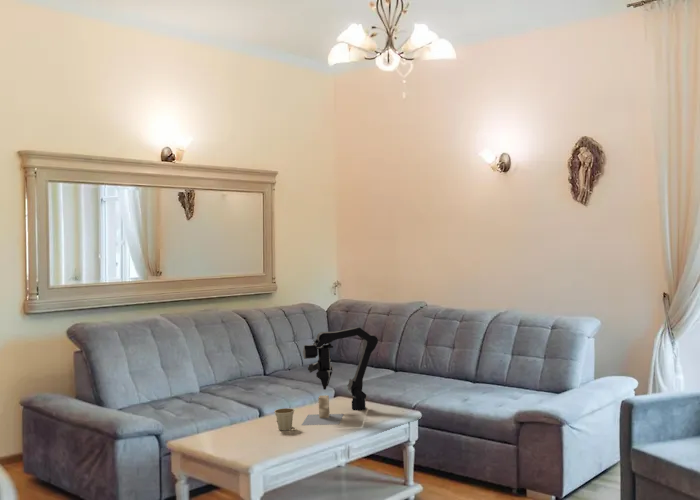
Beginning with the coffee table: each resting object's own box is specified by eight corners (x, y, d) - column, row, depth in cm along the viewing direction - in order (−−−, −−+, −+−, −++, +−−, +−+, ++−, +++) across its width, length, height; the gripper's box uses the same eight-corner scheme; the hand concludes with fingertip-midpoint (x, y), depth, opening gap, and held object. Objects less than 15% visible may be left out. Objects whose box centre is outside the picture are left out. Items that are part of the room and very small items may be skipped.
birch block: (329, 415, 346) (328, 395, 345) (328, 417, 341) (327, 397, 341) (320, 415, 346) (319, 395, 346) (319, 417, 341) (318, 397, 341)
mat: (343, 415, 348) (343, 413, 348) (339, 425, 328) (339, 424, 328) (308, 415, 349) (308, 414, 349) (301, 426, 329) (301, 425, 329)
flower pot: (294, 431, 321) (293, 412, 321) (273, 432, 322) (273, 413, 322) (296, 426, 331) (295, 407, 331) (276, 426, 331) (275, 408, 331)
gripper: (311, 354, 362) (312, 384, 362) (305, 360, 344) (307, 392, 344) (332, 353, 361) (333, 383, 361) (327, 360, 343) (329, 391, 343)
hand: (325, 387), depth 352 cm, fingers open, 7 cm apart
